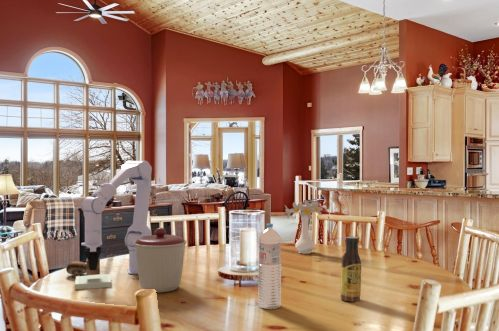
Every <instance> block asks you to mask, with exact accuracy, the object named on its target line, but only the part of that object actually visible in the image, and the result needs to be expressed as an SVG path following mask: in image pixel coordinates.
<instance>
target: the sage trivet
mask: <svg viewBox="0 0 499 331" xmlns="http://www.w3.org/2000/svg"><path fill="white" fill-rule="evenodd" d="M102 288H112V277H111V273H109V274H98V275H80V276H75V280H74V290H87V289H89V290H90V289H102Z"/></svg>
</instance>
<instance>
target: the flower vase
mask: <svg viewBox="0 0 499 331" xmlns="http://www.w3.org/2000/svg"><path fill="white" fill-rule="evenodd" d="M284 207H285V209H284V210H285V213H286V214H287V216H286V217H287V220H289V219H290V215H291V213H292V215H291V216H292V217H293V218H294V217H296V215H297V214H299V213H300V218H301V233H300V236H299V238H298V240H297V241H296V243H295V244H294V245H295V246H294V247H295V249H296V250H297V251H298V253H299V254H301V253H302V254H303V255H304V254H305V255H307V254H312V251H313V250H314V249H315V247H316V246H315V243H314V241H313V240H312V239H311V237H310V232H309V220H312V213H313V214H314V213H318V214H319V215H320V216H323V213H322V212H321V211H323V210H324V209H323V207H322V206H319V201H318V200H316V201H312V202H308V200H305V201H304V204H303V201H300V202H299V203H298V204H297V203H296V202H293V203H292V208H288V207H287V205H284Z"/></svg>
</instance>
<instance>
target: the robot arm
mask: <svg viewBox="0 0 499 331" xmlns="http://www.w3.org/2000/svg"><path fill="white" fill-rule="evenodd" d="M120 167H121V168H120V169H119V170H118V172H117V173H116V174H115V175H114V176H113V178H111V180H110V181H109V182H104V183H101V184H100V185H99V188H98V189H97V190H95V191H94V192H92V193H91V195H90V196H87V197H85V198H84V199H83V200H82V202H81V204H80V209H81V211H82V212H83V217H84V242H81V246H84V247H85V248H84V253H85V255H86V259H88V263H89V268H90V270H96V269H97V264H98V259H99V258H100V255H101V253H102V245H103V241H102V233H103V232H102V229H103V228H102V219H103V218H102V216H103V215H102V214H103V213H102V212H104V211H105V210H106V205H107V203H108V202H109V201H110V200H111V199H113V197H114V196H115V195H116V193H117V189H118V188H119V187H120V186H121V185H122V184H124V183H125V182H126V181H127V180H128V179H130V180H131V181H132V182H134V183H135V185H136V190H135V199H134V200H135V201H134V207H133V209H134V210H133V218H132V224H131V225H130V226H129V227H128V228H127V232H126V235H125V237H124V244H125V246H126V247H127V250H128V255H129V256H128V263H129V264H128V268H127V272H128V275H134V274H135V275H136V274H137V275H138V267H137V258H136V248H135V245H134V244H133V242H134V241H136V240H137V239H138V238H140V237H144V236H149V235H152V229H150V227H149V226H148V225H147V224H148V217H149V216H148V215H149V206H150V204H149V203H150V197H151V188H152V173H153V172H152V170H153V167H152V165H151V164H150V163H149V161H148V160H127V161H124V164H121V166H120Z"/></svg>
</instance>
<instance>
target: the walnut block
mask: <svg viewBox="0 0 499 331" xmlns="http://www.w3.org/2000/svg"><path fill="white" fill-rule="evenodd" d="M100 262H101V259H100V257H99V259H98V264H97V269H96V270H90V268H89V263H88V258H86V273H85V274H86V275H85V276H90V275H101V264H100Z"/></svg>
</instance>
